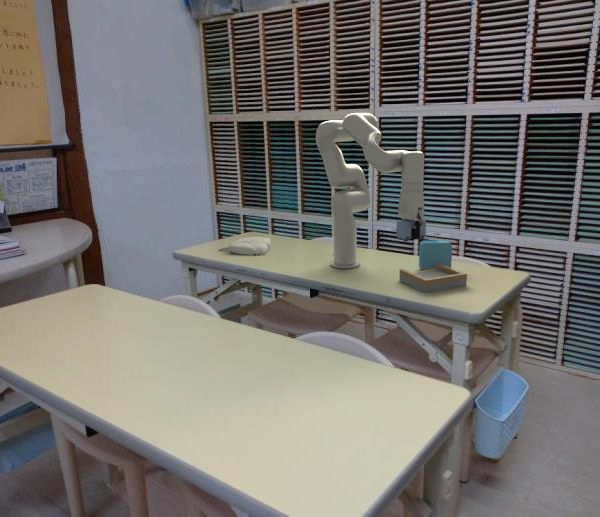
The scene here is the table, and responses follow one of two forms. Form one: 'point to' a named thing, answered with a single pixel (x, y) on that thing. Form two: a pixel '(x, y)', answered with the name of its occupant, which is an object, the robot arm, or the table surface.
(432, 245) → the data package
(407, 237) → the grey-blue rounded box
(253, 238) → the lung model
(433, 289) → the tray
